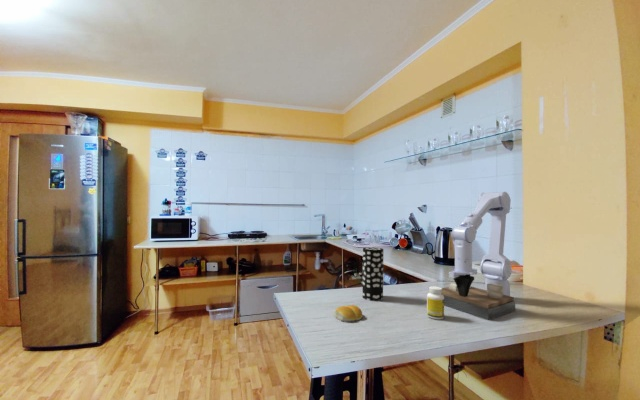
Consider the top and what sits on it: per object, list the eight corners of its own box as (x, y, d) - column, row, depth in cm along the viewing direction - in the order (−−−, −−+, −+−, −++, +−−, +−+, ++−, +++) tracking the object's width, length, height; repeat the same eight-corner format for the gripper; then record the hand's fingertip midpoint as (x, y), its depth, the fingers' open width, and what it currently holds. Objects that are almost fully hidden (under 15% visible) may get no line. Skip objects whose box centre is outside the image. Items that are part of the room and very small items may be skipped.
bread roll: (367, 318, 93) (367, 306, 93) (345, 324, 88) (346, 311, 88) (351, 311, 100) (351, 299, 100) (330, 316, 95) (330, 304, 95)
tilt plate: (462, 287, 119) (462, 274, 120) (513, 300, 102) (513, 286, 102) (436, 292, 111) (436, 279, 111) (488, 308, 94) (488, 292, 94)
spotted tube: (367, 293, 120) (368, 246, 121) (386, 297, 116) (386, 248, 116) (358, 298, 114) (359, 248, 114) (377, 302, 109) (378, 250, 110)
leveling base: (460, 295, 120) (460, 286, 120) (515, 311, 102) (515, 301, 102) (433, 301, 111) (433, 292, 111) (488, 320, 92) (488, 309, 93)
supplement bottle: (445, 320, 92) (445, 290, 92) (428, 319, 93) (428, 289, 93) (442, 314, 97) (442, 286, 97) (425, 313, 98) (425, 285, 98)
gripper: (461, 262, 97) (461, 301, 96) (485, 258, 104) (485, 295, 103) (443, 258, 103) (443, 296, 102) (466, 255, 110) (467, 290, 110)
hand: (463, 295), depth 103 cm, fingers closed
